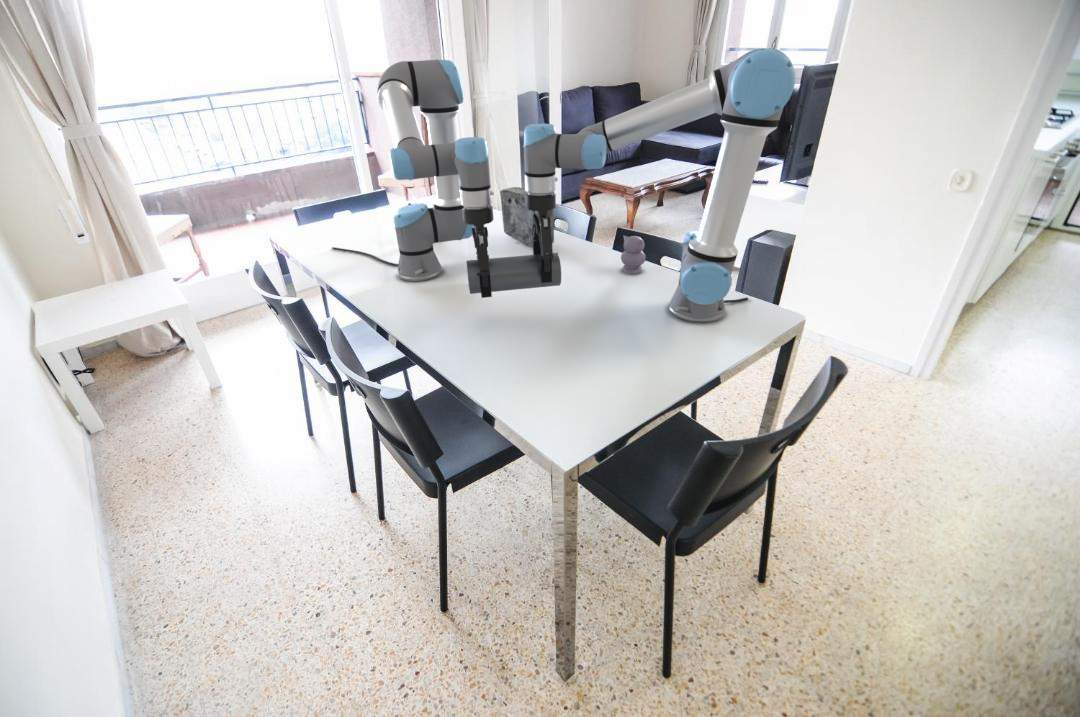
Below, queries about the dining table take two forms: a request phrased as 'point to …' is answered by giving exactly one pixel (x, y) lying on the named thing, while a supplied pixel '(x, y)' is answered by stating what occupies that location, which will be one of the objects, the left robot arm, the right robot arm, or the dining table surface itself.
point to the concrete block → (519, 215)
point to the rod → (513, 273)
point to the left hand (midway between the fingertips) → (485, 289)
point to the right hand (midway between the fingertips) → (542, 272)
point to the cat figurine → (633, 254)
